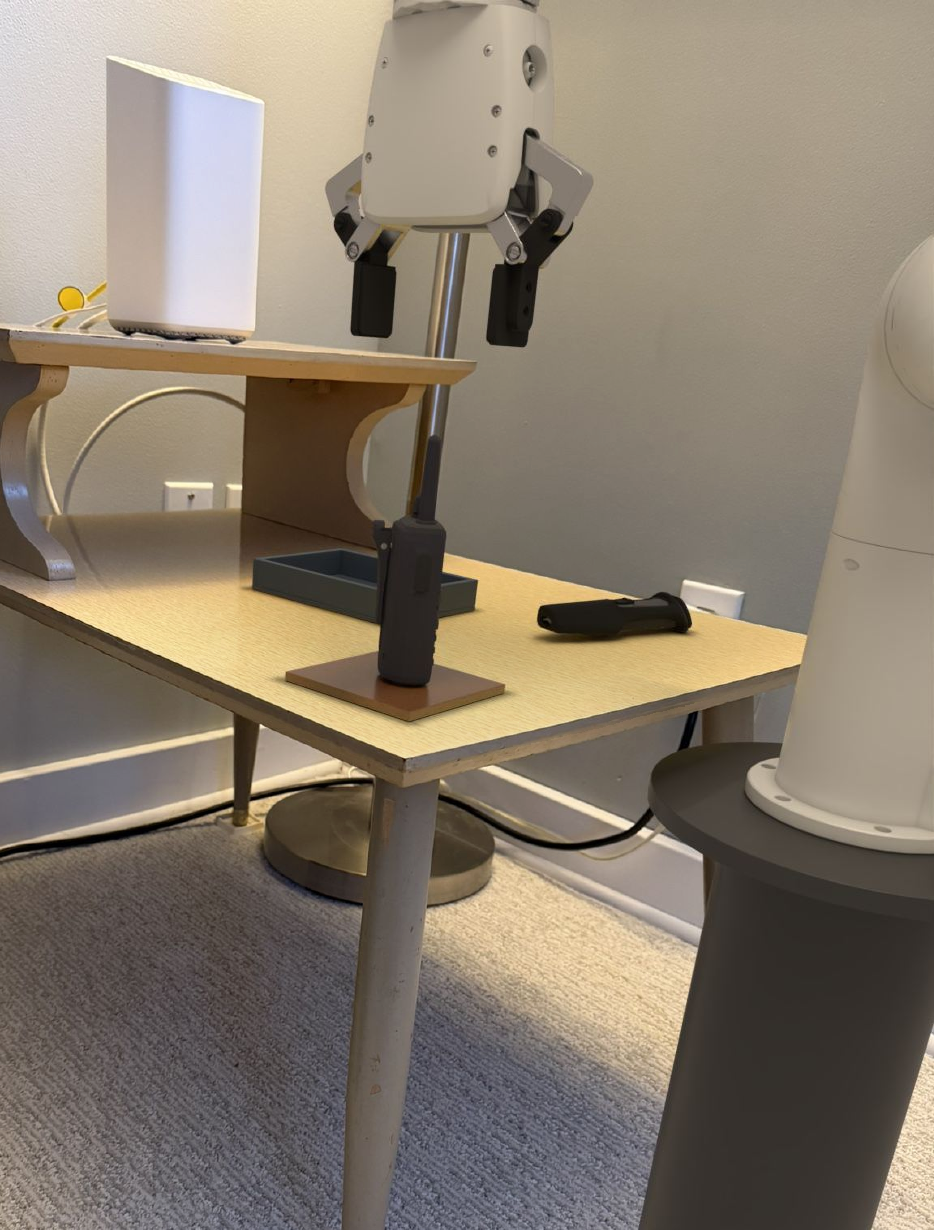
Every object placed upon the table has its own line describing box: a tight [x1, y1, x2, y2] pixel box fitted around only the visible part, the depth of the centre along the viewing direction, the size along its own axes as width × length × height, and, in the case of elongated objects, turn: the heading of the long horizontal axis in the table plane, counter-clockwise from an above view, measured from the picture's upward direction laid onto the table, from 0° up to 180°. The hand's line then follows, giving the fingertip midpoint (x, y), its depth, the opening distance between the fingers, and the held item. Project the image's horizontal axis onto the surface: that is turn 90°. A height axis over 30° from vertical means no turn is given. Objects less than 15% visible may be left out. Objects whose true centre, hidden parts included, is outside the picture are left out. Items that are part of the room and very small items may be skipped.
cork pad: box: [284, 650, 506, 722], centre depth 74 cm, size 10×10×1 cm
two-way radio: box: [371, 434, 447, 686], centre depth 71 cm, size 6×4×15 cm
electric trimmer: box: [536, 591, 693, 637], centre depth 92 cm, size 4×16×3 cm, turn 123°
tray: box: [251, 547, 479, 624], centre depth 97 cm, size 15×11×3 cm
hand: (435, 341), depth 67 cm, fingers open, 9 cm apart
